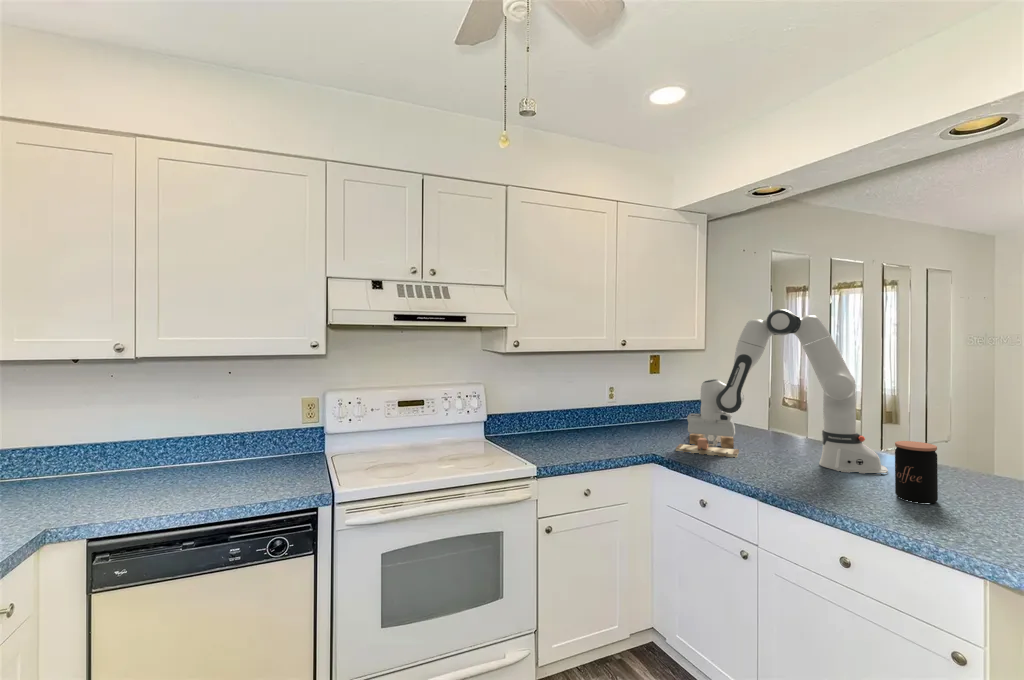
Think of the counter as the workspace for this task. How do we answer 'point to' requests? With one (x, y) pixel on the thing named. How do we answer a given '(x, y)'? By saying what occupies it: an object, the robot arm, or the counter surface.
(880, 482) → the counter surface
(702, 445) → the counter marker
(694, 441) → the walnut block
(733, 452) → the counter board
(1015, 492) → the counter surface
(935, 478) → the coffee jar
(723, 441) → the walnut block
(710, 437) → the grey cylinder
